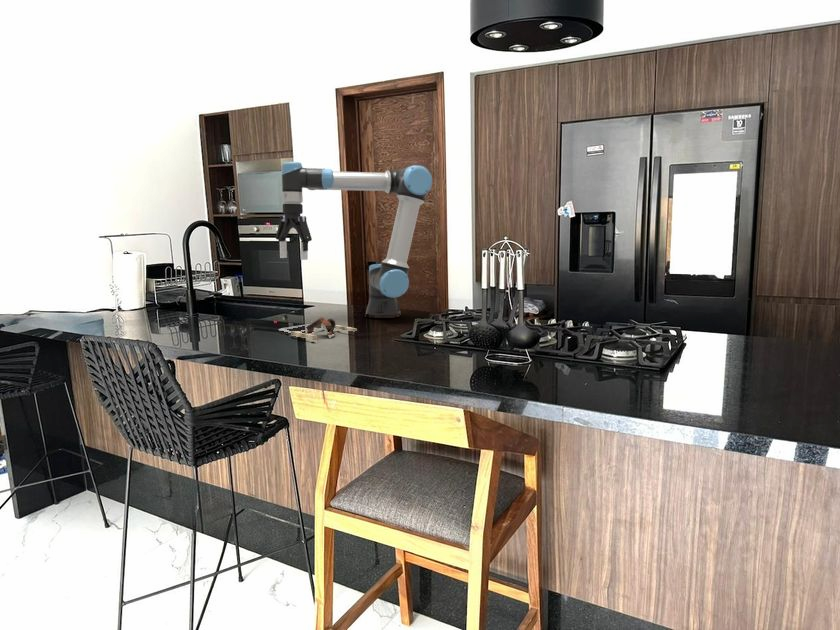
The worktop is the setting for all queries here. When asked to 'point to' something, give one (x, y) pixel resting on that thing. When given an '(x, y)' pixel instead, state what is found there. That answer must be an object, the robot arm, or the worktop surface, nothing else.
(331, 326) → the broken clay vessel
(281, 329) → the tray
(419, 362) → the worktop surface
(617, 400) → the worktop surface
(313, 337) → the guide channel
